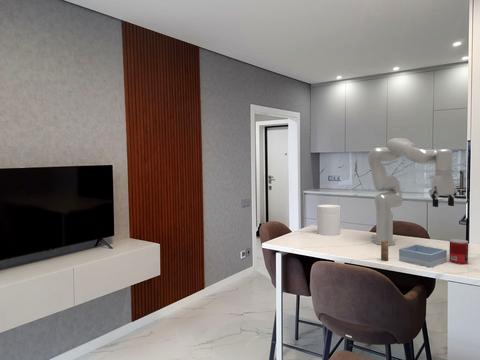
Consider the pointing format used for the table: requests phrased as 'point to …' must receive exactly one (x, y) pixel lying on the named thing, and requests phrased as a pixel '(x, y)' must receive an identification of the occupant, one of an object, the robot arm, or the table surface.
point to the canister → (328, 220)
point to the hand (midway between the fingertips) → (443, 206)
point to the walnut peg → (384, 250)
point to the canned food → (458, 251)
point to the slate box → (422, 255)
